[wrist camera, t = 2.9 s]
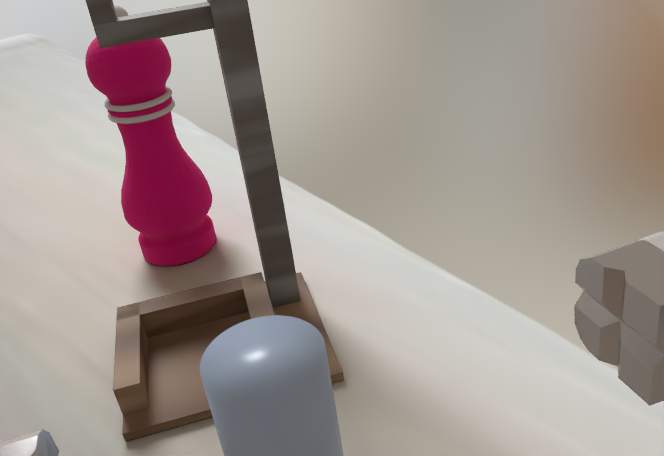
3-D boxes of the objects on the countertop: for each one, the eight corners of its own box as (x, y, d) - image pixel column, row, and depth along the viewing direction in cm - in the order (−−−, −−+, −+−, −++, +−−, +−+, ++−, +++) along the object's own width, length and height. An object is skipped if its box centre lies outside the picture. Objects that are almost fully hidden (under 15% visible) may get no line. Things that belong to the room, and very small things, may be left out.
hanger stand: (343, 379, 38) (284, -22, 27) (125, 441, 36) (-41, 32, 25) (302, 278, 48) (245, -48, 37) (128, 322, 46) (9, -10, 34)
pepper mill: (228, 255, 52) (169, 4, 42) (140, 279, 51) (56, 24, 41) (215, 217, 58) (159, -11, 48) (135, 237, 57) (61, 6, 47)
